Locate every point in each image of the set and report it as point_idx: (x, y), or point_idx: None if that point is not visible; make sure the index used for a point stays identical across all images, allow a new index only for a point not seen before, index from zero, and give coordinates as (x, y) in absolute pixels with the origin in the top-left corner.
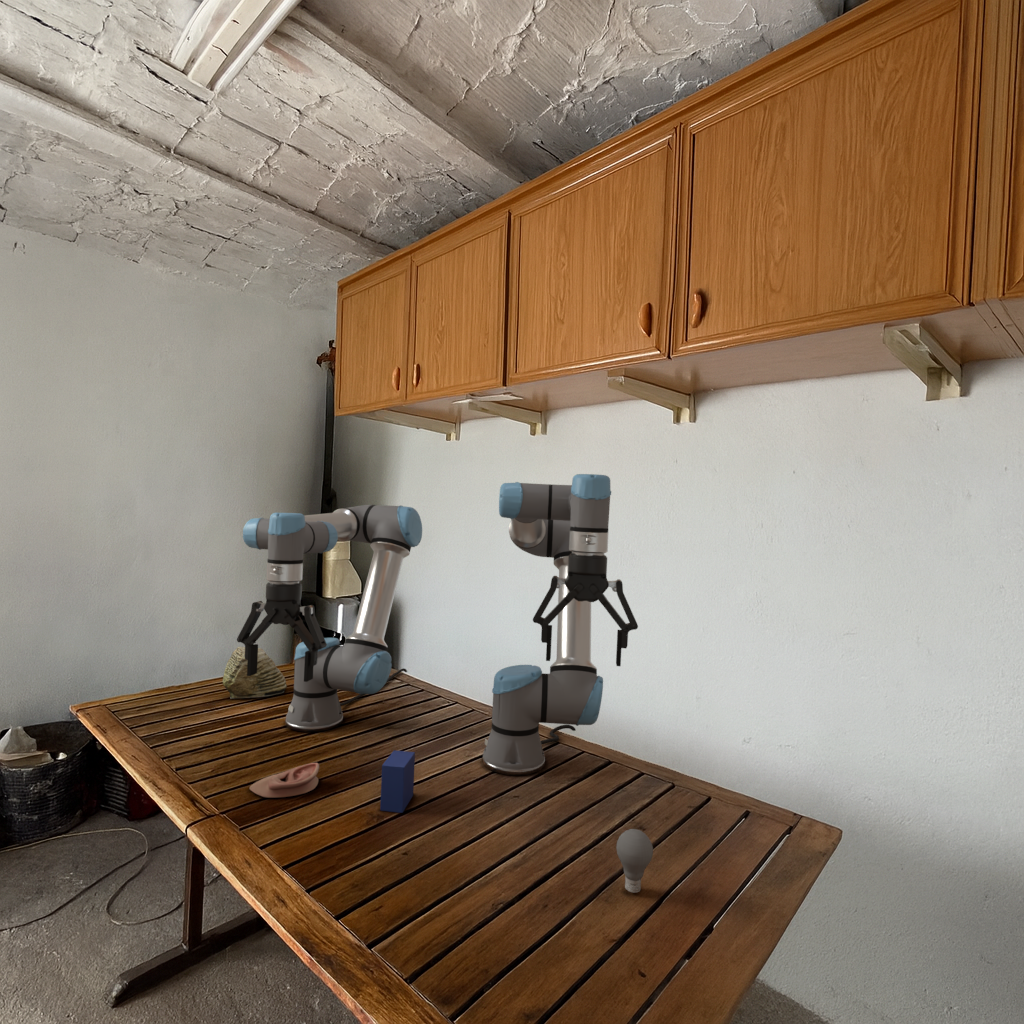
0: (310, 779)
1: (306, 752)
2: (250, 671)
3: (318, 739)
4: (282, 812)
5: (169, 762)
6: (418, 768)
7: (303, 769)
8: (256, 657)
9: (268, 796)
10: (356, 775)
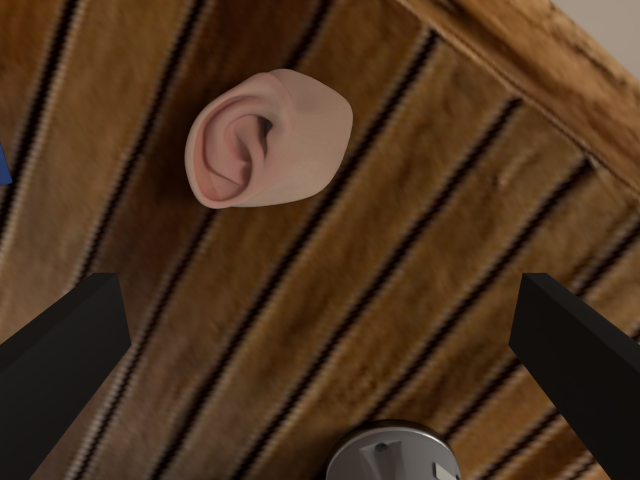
0: (188, 135)
1: (325, 328)
2: (538, 290)
3: (335, 395)
4: (201, 10)
5: (626, 195)
6: (34, 315)
7: (241, 188)
8: (578, 417)
9: (276, 70)
10: (146, 247)
